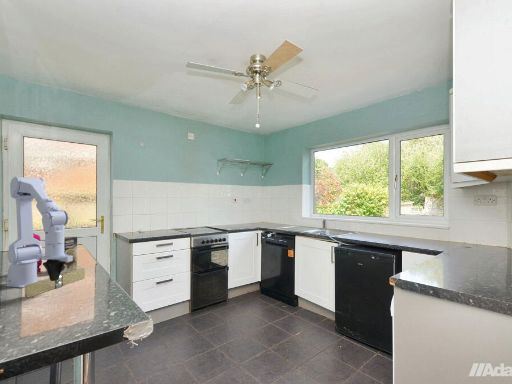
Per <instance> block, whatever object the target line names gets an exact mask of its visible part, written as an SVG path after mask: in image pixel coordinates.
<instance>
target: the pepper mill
mask: <svg viewBox="0 0 512 384" xmlns="http://www.w3.org/2000/svg"><path fill="white" fill-rule="evenodd" d="M33 238H35V239H37V240H39V241H40V242H41V240H42V239H41V236H40V235H39V234H36V232H35V231H34V230H33ZM25 246H33V245H24V247H25ZM42 265H43V260H39V261H37V274H40V273H41V270H42V269H41V266H42Z"/></svg>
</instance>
